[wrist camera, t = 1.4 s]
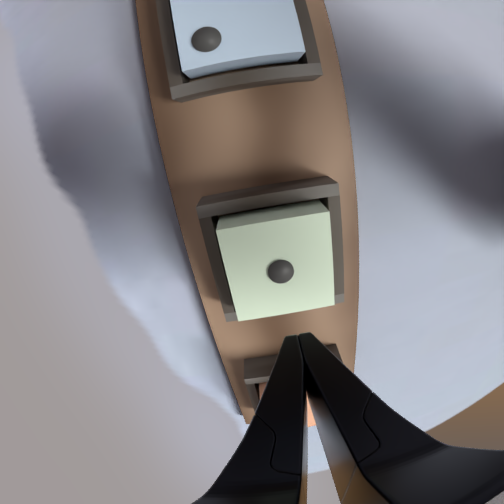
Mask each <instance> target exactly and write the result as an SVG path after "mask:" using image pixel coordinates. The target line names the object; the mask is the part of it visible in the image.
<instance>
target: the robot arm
mask: <svg viewBox="0 0 504 504" xmlns="http://www.w3.org/2000/svg"><path fill="white" fill-rule="evenodd" d="M306 392H307V393H306ZM307 397H308V400H309V404H310V407H311V410H312V413H313V416H314V420H315V423H316V426H317V429H318V432H319V435H320V439H321V442H322V445H323V448H324V451H325V454H326V458H327V461H328V464H329V467H330V470H331V474H332V477H333V480H334V483H335V487H336V490H337V493H338V496H339V499H340V503H341V504H504V450H488V449H475V448H465V447H456V446H451V445H447V444H444V443H442V442H440V441H438V440H436V439H434V438H433V437H431V436H430V435H428V434H426V433H425V432H424V431H422V430H421V429H419V428H418V427H416V426H415V425H413V424H412V423H411V422H409V421H408V420H406V419H405V418H403V417H402V416H401V415H399V414H398V413H397V412H395V411H394V410H393V409H392V408H390V407H389V406H388V405H387V404H386V403H385V402H383V401H382V400H381V399H380V398H379V397H378V396H377V395H376V394H375V393H374V392H373V393H372V390H371V389H369V388H368V387H367V386H366V385H365V384H364V383H363V382H362V381H361V380H360V379H359V378H358V377H357V376H356V375H355V374H354V373H353V372H352V371H351V370H350V369H349V368H347V367H346V366H345V365H344V364H343V363H342V362H341V361H340V360H339V359H338V358H337V357H336V356H335V355H334V354H333V353H332V352H331V351H330V350H329V349H328V348H327V347H326V346H325V345H324V344H323V343H322V342H321V341H320V340H318V339H317V338H316V337H315V336H314V335H313V334H312V333H311V332H306V333H300V334H299V335H296V334H294V335H289V336H285V337H284V340H283V342H282V345H281V348H280V350H279V353H278V356H277V358H276V361H275V364H274V366H273V369H272V371H271V374H270V377H269V379H268V382H267V384H266V387H265V389H264V392H263V394H262V397H261V399H260V401H259V404H258V406H257V409H256V411H255V415H254V416H253V418H252V420H251V423H250V425H249V427H248V429H247V431H246V433H245V435H244V437H243V439H242V441H241V443H240V445H239V446H238V448H237V450H236V451H235V453H234V454H233V456H232V458H231V459H230V460H229V462H228V463H227V465H226V466H225V468H224V469H223V471H222V472H221V474H220V475H219V477H218V478H217V480H216V481H215V482H214V484H213V485H212V486H211V488H210V489H209V490H208V491H207V492H206V493H205V494H204V495H203V496H202V497H200V498H199V499H198V500H196V501H195V502H193V503H192V504H307V469H308V421H307Z"/></svg>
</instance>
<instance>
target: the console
mask: <svg viewBox="0 0 504 504" xmlns="http://www.w3.org/2000/svg"><path fill="white" fill-rule="evenodd" d="M135 1H136V10H137V18H138V26H139V33H140V40H141V47H142V54H143V60H144V66H145V72H146V78H147V84H148V89H149V94H150V100H151V105H152V110H153V115H154V120H155V125H156V130H157V134H158V139H159V144H160V148H161V152H162V157H163V161H164V166H165V170H166V174H167V178H168V182H169V186H170V190H171V194H172V198H173V202H174V206H175V210H176V214H177V217H178V221H179V225H180V228H181V232H182V236H183V239H184V243H185V246H186V250H187V253H188V257H189V260H190V263H191V267H192V270H193V273H194V277H195V280H196V283H197V287H198V290H199V293H200V296H201V299H202V302H203V306H204V309H205V312H206V315H207V318H208V321H209V324H210V327H211V330H212V333H213V336H214V339H215V341H216V344H217V347H218V350H219V353H220V356H221V359H222V361H223V364H224V367H225V370H226V372H227V375H228V378H229V380H230V383H231V386H232V388H233V391H234V394H235V396H236V399H237V401H238V404H239V407H240V409H241V412H242V414H243V417H244V419H245V422H246V424H250V423H251V420H252V418H253V416H254V415H255V411H256V409H257V406H258V404H259V401H260V392H259V383H263V382H268V379H269V377H270V374H271V371H272V369H273V366H274V364H275V361H276V358H277V356H278V353H279V350H280V348H281V345H282V342H283V340H284V337H285V336H289V335H294V334H296V335H299V334H300V333H306V332H311V333H312V334H313V335H314V336H315V337H316V338H317V339H318V340H320V341H321V342H322V343H323V344H324V345H325V346H326V347H327V348H328V349H329V350H330V351H331V352H332V353H333V354H334V355H335V356H336V357H337V358H338V359H339V360H340V361H341V362H342V363H343V364H344V365H345V366H346V367H347V368H349V369H350V370H351V371H352V372H353V373H354V364H355V353H356V340H357V323H358V299H359V234H358V210H357V194H356V180H355V169H354V158H353V149H352V140H351V132H350V125H349V118H348V111H347V104H346V98H345V92H344V86H343V81H342V76H341V70H340V65H339V61H338V56H337V51H336V47H335V42H334V38H333V34H332V30H331V26H330V22H329V18H328V15H327V11H326V7H325V4H324V0H293V2H294V6H295V9H296V13H297V17H298V21H299V25H300V29H301V33H302V38H303V42H304V46H305V51H306V52H305V53H304V54H303V55H302V57H301V58H300V59H299V60H298V61H297V62H286V63H277V64H268V65H261V66H254V67H247V68H241V69H235V70H230V71H225V72H220V73H215V74H210V75H206V76H201V77H197V78H193V79H191V78H189V77H188V76H187V75H186V74H185V73H183V72H182V68H181V63H180V57H179V51H178V46H177V40H176V34H175V28H174V22H173V16H172V10H171V4H170V0H135ZM315 200H319V201H320V202H321V203H322V204H323V205H324V206H325V207H326V208H327V209H328V210H329V212H330V224H331V237H332V253H333V272H334V302H335V305H332V306H327V307H321V308H316V309H311V310H305V311H300V312H294V313H288V314H282V315H276V316H270V317H264V318H258V319H251V320H244V321H238V318H237V314H236V310H235V306H234V302H233V298H232V295H231V291H230V287H229V283H228V279H227V275H226V271H225V267H224V263H223V258H222V254H221V250H220V246H219V242H218V238H217V233H216V228H217V224H218V221H219V217H220V216H225V215H230V214H236V213H242V212H247V211H253V210H259V209H265V208H270V207H277V206H283V205H289V204H295V203H301V202H308V201H315Z"/></svg>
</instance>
